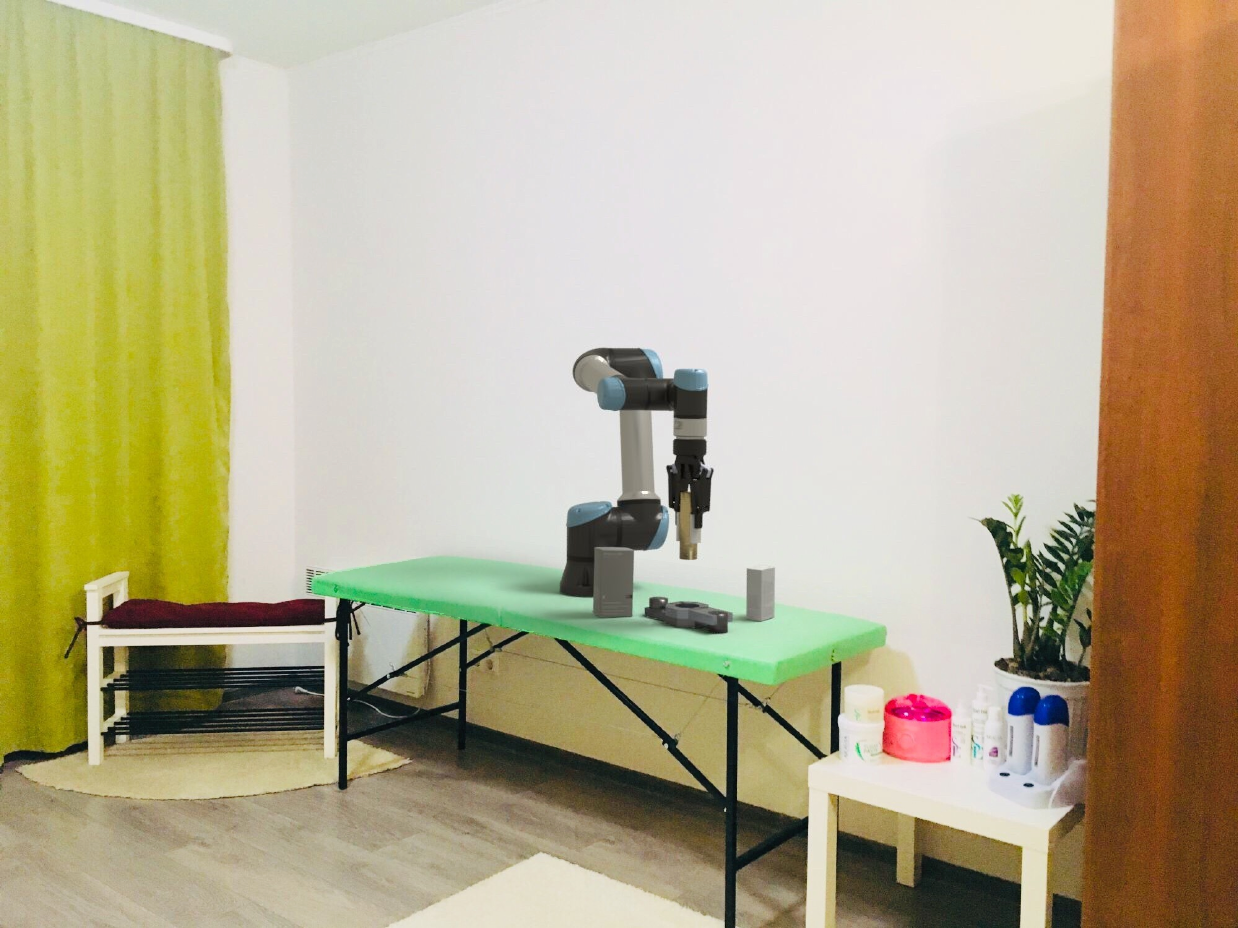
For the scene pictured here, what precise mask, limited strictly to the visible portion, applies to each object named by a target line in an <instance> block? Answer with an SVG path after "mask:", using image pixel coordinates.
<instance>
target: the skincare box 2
mask: <svg viewBox="0 0 1238 928" xmlns="http://www.w3.org/2000/svg"><path fill="white" fill-rule="evenodd" d="M775 569H776V568H775V566H770V565H765V564H758V565H755V566H751V567H747V568H746V603H745V604H746V619H747V620H749V621H756V622H763V621H766V620H770V619H772V618H775V603H776V602H775V598H776V597H775V592H776V591H775V587H776V585H775V584H776V580H775V579H776V577H775V576H776V570H775Z"/></svg>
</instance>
